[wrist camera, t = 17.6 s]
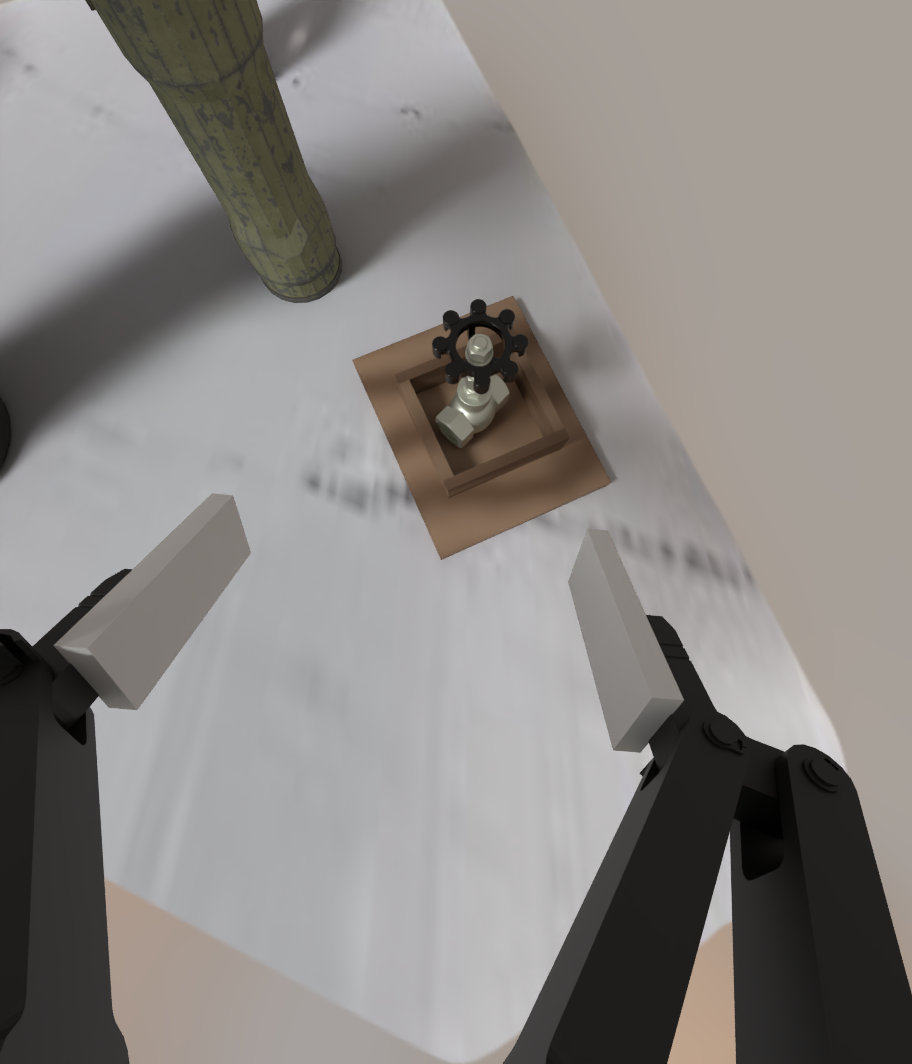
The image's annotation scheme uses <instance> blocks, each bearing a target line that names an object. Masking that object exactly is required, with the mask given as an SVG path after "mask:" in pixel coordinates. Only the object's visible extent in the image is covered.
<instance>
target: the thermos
mask: <svg viewBox="0 0 912 1064" xmlns="http://www.w3.org/2000/svg"><path fill="white" fill-rule="evenodd" d="M85 1H86V2H87V4H88V5H89V7H90V9H91V10H96V11H97V12H98V14H99V16H100V17H101V19H102V20H103V22H104V24H105V25H106V27H107V29H108V30H109V32H110V34H111V35H112V37H113V38H114V40H115V42H116V43H117V45H118V47H119V48H120V50H121V52H122V53H123V55H124V56H125V57H126V59H127V60H128V61H129V62H130V63H131V65H132V66H133V67H134V68H135V69H136V71H137V72H138V73H140V74H141V75H142V76H143V77H144V78H145V79H146V80H147V81H148V82H149V83H150V85H151V87H152V88H153V90H154V92H155V93H156V95H157V97H158V98H159V100H160V102H161V103H162V105H163V107H164V109H165V110H166V112H167V114H168V115H169V117H170V119H171V120H172V122H173V124H174V125H175V127H176V129H177V130H178V132H179V134H180V135H181V137H182V139H183V141H184V142H185V144H186V146H187V147H188V149H189V151H190V152H191V154H192V156H193V157H194V159H195V161H196V162H197V164H198V166H199V167H200V169H201V171H202V172H203V174H204V176H205V178H206V179H207V181H208V183H209V184H210V186H211V188H212V189H213V191H214V193H215V194H216V196H217V198H218V199H219V201H220V203H221V204H222V206H223V208H224V209H225V211H226V213H227V215H228V217H229V221H230V226H231V229H232V232H233V235H234V238H235V240H236V241H237V243H238V244H239V246H240V248H241V249H242V251H243V253H244V254H245V256H246V257H247V259H248V261H249V262H250V264H251V265H252V267H253V268H254V269H255V270H256V271H257V273H258V274H259V275H260V276H261V278H262V281H263V282H264V284H265V285H266V286H267V288H268V289H269V290H270V291H271V293H272V294H274V295H276V296H277V297H279V298H280V299H282V300H286V301H290V302H293V303H302V302H310V301H313V300H316V299H319V298H321V297H322V296H324V295H325V294H327V293H328V292H330V291H331V289H332V288H333V287H334V286H335V284H336V283H337V282H338V279H339V276H340V273H341V258H340V255H339V252H338V250H337V247H336V245H335V235H334V232H333V229H332V226H331V223H330V220H329V217H328V214H327V211H326V208H325V205H324V203H323V200H322V198H321V196H320V194H319V193H318V191H317V189H316V187H315V186H314V184H313V182H312V181H311V179H310V177H309V176H308V173H307V170H306V167H305V164H304V161H303V159H302V156H301V153H300V150H299V147H298V144H297V141H296V138H295V135H294V132H293V129H292V127H291V124H290V121H289V118H288V115H287V112H286V109H285V106H284V103H283V100H282V97H281V95H280V92H279V89H278V86H277V83H276V80H275V77H274V74H273V71H272V68H271V65H270V63H269V60H268V57H267V54H266V51H265V48H264V45H263V24H262V16H261V13H260V10H259V7H258V4H257V1H256V0H85Z"/></svg>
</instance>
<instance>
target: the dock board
mask: <svg viewBox="0 0 912 1064" xmlns="http://www.w3.org/2000/svg"><path fill="white" fill-rule="evenodd" d="M504 309H510V310H512V311H513V312H514V314H515V320H514V325H513V328H512V329H511V330H510V329H509V328H508V330H509V332H510V334H511V335H512V336H516V335H518V334H522V335H525V336H526V337H527V338H528V341H529V343H528V347H527V350H526V353H525V354H524V355H523V356H521V357H518V353H516V352H514V353H512V354H511V357H510V360H511V361H514V362H516V363H517V365H518V367H519V370H518V373H517V377H516V379H515V380H514V381H513V382H511V383H506V382H504V381H503V382H504V383H505V384H506V386H507V388H508V390H509V393H510V395H509V398H508V401H507V403H506V404H505V405H504V406H503V407H502V408H501V409H500V410H499V411H498V412H497V413H495V416H494V418H493V420H492V422H491V423H490V424H489V426H488V427H486V428H485V429H484V430H482V431H480V432H478V433H475V434H473V438H472V439H471V440H470V441H469V442H468V443H467V444H466V445H465V446H464V447H463V448H459V447H456V446H454V445H453V444H451V443H450V442H449V441H448V440H447V439H446V438H445V437H444V436H443V435H442V434H441V432H440V431H439V430H438V428H437V426H436V424H435V419H436V416H437V415H438V414H439V413H440V412H441V411H442V410H443V409H444V408H445V407H446V406H450V403H451V400H452V398H453V397H454V395H455V394H456V393H457V387H458V384H459V382H460V380H461V379H462V378H461V377H460V378H459V382H458V383H457V384H449V383H448V382H447V381H446V380H445V367H446V365H447V364H448V363H451V360H450V358H449V355H447V354H444V355H441V359H438V358H436V357H435V356H434V355H433V351H432V341H433V340H434V338H436V337H438V336H442V337H445V338H447V337H448V336H449V334H450V332H451V331H450V330H449V329H448V330H447V332H446V331H445V330H444V328H443V324H441V325H439V326H436V327H434V328H431V329H429V330H426V331H424V332H421V333H419V334H416V335H414V336H411V337H409V338H406V339H404V340H401V341H399V342H396V343H394V344H391V345H389V346H386V347H384V348H381V349H379V350H376V351H374V352H371V353H369V354H366V355H364V356H361V357H359V358H356V359H354V360H353V363H354V365H355V367H356V370H357V372H358V374H359V376H360V379H361V381H362V383H363V385H364V388H365V390H366V392H367V394H368V397H369V399H370V401H371V403H372V406H373V408H374V410H375V412H376V415H377V417H378V419H379V421H380V424H381V426H382V428H383V430H384V433H385V435H386V437H387V439H388V441H389V444H390V446H391V448H392V450H393V453H394V455H395V457H396V459H397V462H398V464H399V466H400V468H401V471H402V473H403V475H404V477H405V480H406V482H407V484H408V486H409V489H410V491H411V493H412V495H413V498H414V500H415V502H416V504H417V507H418V509H419V511H420V513H421V516H422V518H423V520H424V522H425V525H426V527H427V529H428V531H429V534H430V536H431V538H432V540H433V542H434V545H435V547H436V549H437V551H438V554H439V556H440V558H441V560H442V559H444V558H446V557H449V556H451V555H453V554H455V553H458V552H460V551H462V550H464V549H466V548H469V547H471V546H473V545H475V544H478V543H480V542H482V541H484V540H487V539H489V538H491V537H493V536H495V535H498V534H500V533H502V532H504V531H507V530H509V529H511V528H513V527H515V526H518V525H520V524H522V523H524V522H527V521H529V520H531V519H533V518H536V517H538V516H540V515H542V514H544V513H547V512H549V511H551V510H553V509H556V508H558V507H560V506H562V505H565V504H567V503H569V502H571V501H573V500H576V499H578V498H580V497H582V496H585V495H587V494H589V493H591V492H594V491H596V490H598V489H600V488H602V487H605V486H607V485H608V484H610V483H611V481H610V479H609V478H608V476H607V474H606V472H605V470H604V468H603V466H602V464H601V462H600V460H599V459H598V457H597V455H596V453H595V451H594V449H593V447H592V445H591V443H590V441H589V439H588V438H587V436H586V434H585V432H584V430H583V428H582V426H581V424H580V422H579V420H578V418H577V417H576V415H575V413H574V411H573V409H572V407H571V405H570V403H569V401H568V399H567V397H566V396H565V394H564V392H563V390H562V388H561V386H560V384H559V382H558V380H557V378H556V376H555V375H554V373H553V371H552V369H551V367H550V365H549V363H548V361H547V359H546V357H545V355H544V354H543V352H542V350H541V348H540V346H539V344H538V342H537V340H536V338H535V336H534V335H533V333H532V331H531V329H530V327H529V325H528V323H527V321H526V319H525V317H524V315H523V314H522V312H521V310H520V308H519V306H518V304H517V302H516V300H515V298H514V296H511V297H509V298H506V299H504V300H501V301H499V302H496V303H494V304H491V305H489V306H487V308H486V314H487V315H488V316H491V317H498V316H499V314H500V312H501V311H502V310H504ZM468 316H470V313H469V314H466V315H464V316H461V317H460V318H466V317H468ZM475 334H484V335H487V336H489V338H490V340H491V343H492V346H493V357H496V358H500V357H501V356H502V354H503V352H504V346H503V342H502V340H501V338H500V337H499V336H498V335H497V333H495V332H494V331H493V330H491V329H489V328H485V327H476V329H475ZM467 342H468V337H467V330H466V331H464V332H463V333H462V334H461V335H460V336H459V338H458V340H457V343H456V349H457V352H458V354H459V355H460V357H461V358H462V359H463V360H464V361H465V350H466V347H467ZM496 375H497V376H499V377H500V378H501V379H502V380H503V378H504V377H503V376H502V374H501V373H497V374H496Z"/></svg>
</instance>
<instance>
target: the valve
mask: <svg viewBox="0 0 912 1064" xmlns="http://www.w3.org/2000/svg"><path fill="white" fill-rule="evenodd" d="M486 308H487V306H486V303H485V302H484V301H483V300H481V299H476V300H474V301H473V302H472V303H471V306H470V316H468V317H466V318H460V317H459V315H458V313H457V312H455V311H452V310H449V311H447V312H445V313H444V315H443V328H444V330H445V331H446V332H447V330H448V329H449V330H450V331H451V332H450V334H449V336H448V337H447V338H445V337H442V336H438V337H436V338H434V340H433V341H432V351H433V355H434V356H435V357H436V358H438V359H441V355H444V354H447V355H449V358H450V360H451V363H448V364H447V365H446V367H445V380H446V381H447V382H448V383H449V384H457V383H458V382H459V378H460V377H461V378H462V379H461V380H460V382H459V384H458V387H457V393H456V394H455V395H454V397H453V398H452V400H451V403H450V406H446V407H445V408H444V409H443V410H442V411H441V412H440V413H439V414H438V415H437V416H436V419H435V424H436V426H437V428H438V430H439V431H440V432H441V434H442V435H443V436H444V437H445V438H446V439H447V440H448V441H449V442H450V443H451V444H453V445H454V446H456V447H459V448H463V447H464V446H465V445H466V444H467V443H468V442H469V441H470V440H471V439H472V438H473V434H475V433H478V432H480V431H482V430H484V429H485V428H486V427H488V426H489V424H490V423H491V422H492V420H493V418H494V416H495V413H497V412H498V411H499V410H500V409H501V408H502V407H503V406H504V405H505V404H506V403H507V401H508V398H509V395H510V393H509V390H508V388H507V386H506V384H505V383H504V382H506V383H511V382H513V381H514V380H515V379H516V377H517V373H518V370H519V367H518V365H517V363H516V362H514V361H511V360H510V357H511V354H512V353H514V352H516V353H518V357H521V356H523V355H524V354H525V353H526V350H527V347H528V343H529V341H528V338H527V337H526V336H525V335H522V334H518V335H516V336H512V335H511V334H510V332H509V330H508V328H509V329H510V330H511V329H512V328H513V325H514V320H515V314H514V312H513V311H512V310H510V309H504V310H502V311H501V312H500V314H499V316H498V317H491V316H488V315H487V314H486ZM476 327H485V328H489V329H491V330H493V331H494V332H495V333H497V335H498V336H499V337H500V338H501V340H502V342H503V346H504V352H503V354H502V356H501V357H500V358H496V357H493V346H492V343H491V340H490V338H489V336H487V335H484V334H475V329H476ZM466 330H467V337H468V342H467V347H466V350H465V361H464V360H463V359H462V358H461V357H460V355H459V354H458V352H457V349H456V343H457V340H458V338H459V336H460V335H461V334H462V333H463V332H464V331H466ZM497 373H501V374H502V376H503V377H504V378H503V380H502V379H501V378H500V377H499V376H497V375H496V374H497ZM503 381H504V382H503Z"/></svg>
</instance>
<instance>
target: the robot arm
mask: <svg viewBox="0 0 912 1064" xmlns="http://www.w3.org/2000/svg"><path fill="white" fill-rule="evenodd" d="M9 437H10V425H9V418H8V414H7V411H6V408H5V406H4V404H3V402H2V401H1V399H0V466H1V464H2V462H3V460H4V458H5V455H6V452H7V449H8V444H9ZM250 553H251V551H250V548H249V545H248V542H247V538H246V535H245V532H244V529H243V526H242V523H241V519H240V516H239V513H238V510H237V507H236V503H235V500H234V497H233V496H232V495H221V494H211V495H210V496H209V497H208V498H207V499H206V500H205V501H204V502H203V503H202V504H201V505H200V506H199V507H198V508H196V509H195V510H194V511H193V512H192V513H191V514H190V515H189V516H188V517H187V518H186V519H185V520H184V521H183V522H182V523H181V524H180V525H179V526H178V527H177V528H176V529H175V530H174V531H172V532H171V533H170V534H169V535H168V536H167V537H166V538H165V539H164V540H163V541H162V542H161V543H160V544H159V545H158V546H157V547H156V548H155V549H154V550H153V551H152V552H151V553H149V554H148V555H147V556H146V557H145V558H144V559H143V560H142V561H141V562H140V563H139V564H138V565H137V566H136V567H135V568H134V569H133V570H132V569H124V570H122V571H120V572H118V573H117V574H115V575H113V576H111V577H109V578H108V579H106V580H105V581H103V582H102V583H101V584H100V585H99V586H98V587H97V588H96V589H95V590H94V591H93V592H91V595H90V596H87V597H86V598H85V599H84V600H83V601H82V602H81V603H79V604H78V605H79V606H78V607H75V608H74V609H73V610H72V611H71V612H70V613H69V614H67V615H66V616H65V617H64V618H63V619H62V620H61V621H60V622H59V623H58V624H56V625H55V626H54V627H53V628H52V629H51V630H50V631H49V632H48V633H47V634H46V635H44V636H43V637H42V638H41V639H40V640H39V641H38V642H37V643H36V644H35V645H34V646H31V645H30V644H29V643H28V642H27V641H26V640H25V639H24V638H23V637H22V635H21V634H20V633H19V632H16V631H14V630H12V629H0V1064H129V1057H128V1050H127V1046H126V1043H125V1040H124V1036H123V1035H122V1033H121V1031H120V1029H119V1028H118V1026H117V1024H116V1022H115V1019H114V1016H113V1010H112V999H111V984H110V983H111V982H110V968H109V967H110V966H109V952H108V951H109V950H108V934H107V917H106V902H105V887H104V869H103V852H102V836H101V820H100V804H99V787H98V771H97V755H96V739H95V722H94V714H93V712H92V709H91V708H90V706H91V704H92V703H93V702H94V701H95V700H96V698H97V697H98V696H99V697H100V698H101V699H102V700H103V702H104V703H105V704H106V705H107V706H108V707H109V708H120V709H132V710H138V708H139V707H140V706H141V704H142V703H143V701H144V700H145V699H146V697H147V696H148V694H149V693H150V692H151V690H152V689H153V688H154V686H155V685H156V683H157V682H158V681H159V679H160V678H161V676H162V675H163V674H164V672H165V671H166V670H167V668H168V667H169V665H170V664H171V663H172V661H173V660H174V658H175V657H176V656H177V654H178V653H179V652H180V650H181V649H182V647H183V646H184V645H185V643H186V642H187V641H188V639H189V638H190V636H191V635H192V634H193V632H194V631H195V629H196V628H197V627H198V625H199V624H200V623H201V621H202V620H203V618H204V617H205V616H206V614H207V613H208V611H209V610H210V609H211V607H212V606H213V605H214V603H215V602H216V600H217V599H218V598H219V596H220V595H221V593H222V592H223V591H224V589H225V588H226V587H227V585H228V584H229V582H230V581H231V580H232V578H233V577H234V575H235V574H236V573H237V571H238V570H239V569H240V567H241V566H242V564H243V563H244V562H245V560H246V559H247V557H248V556H249V555H250ZM568 583H569V586H570V590H571V594H572V598H573V601H574V605H575V609H576V613H577V616H578V620H579V624H580V628H581V631H582V635H583V639H584V643H585V646H586V650H587V654H588V658H589V661H590V665H591V669H592V673H593V676H594V680H595V684H596V688H597V691H598V695H599V699H600V703H601V706H602V710H603V714H604V718H605V721H606V725H607V729H608V733H609V736H610V740H611V744H612V748H613V750H616V751H628V752H641V751H642V750H643V749H644V748H645V746H646V745H647V744H648V743H649V744H650V747H651V750H652V753H653V756H654V758H653V759H652V760H651V761H650V762H649V763H648V764H647V766H646V767H645V768H644V769H643V770H642V771H641V772H640V774H641V775H642V776H643V777H642V780H641V782H640V784H639V786H638V788H637V790H636V792H635V794H634V796H633V798H632V801H631V803H630V805H629V807H628V809H627V811H626V813H625V815H624V817H623V819H622V822H621V824H620V826H619V828H618V830H617V832H616V834H615V836H614V838H613V841H612V843H611V845H610V847H609V849H608V851H607V853H606V855H605V857H604V859H603V862H602V864H601V866H600V868H599V870H598V872H597V874H596V876H595V878H594V880H593V883H592V885H591V887H590V889H589V891H588V893H587V895H586V897H585V899H584V902H583V904H582V906H581V908H580V910H579V912H578V914H577V916H576V918H575V920H574V923H573V925H572V927H571V929H570V931H569V933H568V935H567V937H566V939H565V942H564V944H563V946H562V948H561V950H560V952H559V954H558V956H557V958H556V960H555V963H554V965H553V967H552V969H551V971H550V973H549V975H548V977H547V979H546V981H545V984H544V986H543V988H542V990H541V992H540V994H539V996H538V998H537V1000H536V1003H535V1005H534V1007H533V1009H532V1011H531V1013H530V1015H529V1017H528V1019H527V1021H526V1024H525V1026H524V1028H523V1030H522V1032H521V1034H520V1036H519V1038H518V1040H517V1042H516V1044H515V1046H514V1047H513V1049H512V1051H511V1052H510V1054H509V1055H508V1057H507V1058H506V1059H505V1061H504V1062H503V1064H667V1062H668V1058H669V1054H670V1051H671V1047H672V1043H673V1039H674V1036H675V1032H676V1028H677V1025H678V1021H679V1017H680V1013H681V1010H682V1006H683V1002H684V999H685V995H686V991H687V988H688V984H689V980H690V976H691V973H692V969H693V965H694V961H695V958H696V954H697V951H698V947H699V943H700V939H701V936H702V932H703V928H704V925H705V921H706V917H707V913H708V910H709V906H710V902H711V899H712V895H713V891H714V888H715V884H716V880H717V876H718V873H719V869H720V865H721V862H722V858H723V854H724V850H725V847H726V843H727V839H728V836H729V832H730V852H731V889H732V926H733V963H734V1000H735V1037H736V1064H912V994H911V990H910V986H909V982H908V979H907V975H906V972H905V968H904V964H903V960H902V957H901V953H900V949H899V945H898V942H897V938H896V934H895V931H894V927H893V923H892V920H891V916H890V912H889V908H888V905H887V901H886V897H885V894H884V890H883V886H882V883H881V879H880V875H879V871H878V868H877V864H876V861H875V857H874V853H873V849H872V845H871V842H870V838H869V835H868V831H867V827H866V824H865V820H864V816H863V812H862V808H861V805H860V801H859V797H858V794H857V791H856V789H855V786H854V784H853V782H852V780H851V778H850V777H849V776H848V775H847V773H846V772H845V771H844V770H843V768H842V767H841V766H840V765H839V764H837V763H836V762H835V761H834V760H833V759H832V758H831V757H829V756H828V755H826V754H825V753H823V752H821V751H819V750H818V749H816V748H813V747H810V746H807V745H804V744H803V745H793V746H792V747H791V748H789V749H788V750H787V751H785V752H784V751H781V750H779V749H776V748H774V747H771V746H768V745H766V744H763V743H761V742H758V741H755V740H753V739H751V738H749V737H746V736H745V735H744V733H743V732H742V731H741V729H740V728H739V727H738V726H737V725H736V724H735V723H734V722H733V721H731V720H730V719H729V718H728V717H727V716H725V715H723V714H721V713H719V712H717V710H716V709H715V707H714V706H713V704H712V702H711V700H710V698H709V696H708V694H707V692H706V690H705V688H704V686H703V684H702V682H701V680H700V678H699V676H698V674H697V672H696V670H695V668H694V666H693V664H692V662H691V661H689V656H688V654H687V652H686V650H685V648H683V645H682V643H681V641H680V639H679V637H678V635H677V633H676V631H675V629H674V628H673V627H672V626H671V625H670V624H669V623H668V622H667V621H666V620H665V619H664V618H663V617H662V616H651V615H646V614H645V612H644V610H643V608H642V606H641V603H640V601H639V599H638V597H637V594H636V592H635V590H634V588H633V586H632V583H631V581H630V579H629V577H628V574H627V572H626V570H625V568H624V566H623V563H622V561H621V559H620V557H619V554H618V552H617V550H616V548H615V546H614V543H613V541H612V539H611V537H610V534H609V532H608V531H605V530H594V529H587V532H586V534H585V537H584V540H583V543H582V545H581V548H580V551H579V554H578V556H577V559H576V562H575V565H574V567H573V570H572V573H571V576H570V578H569V581H568Z"/></svg>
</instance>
